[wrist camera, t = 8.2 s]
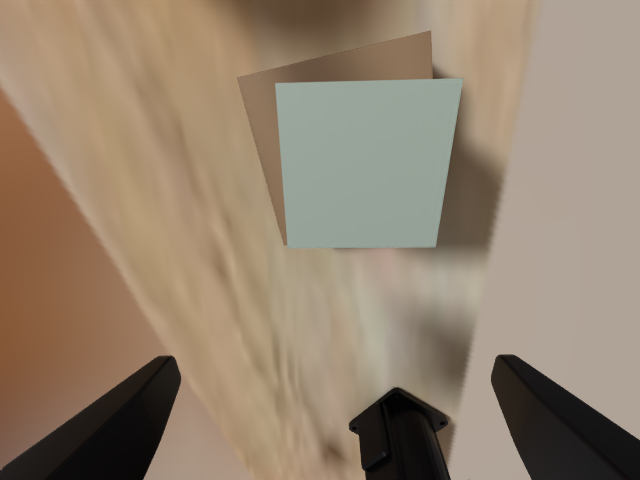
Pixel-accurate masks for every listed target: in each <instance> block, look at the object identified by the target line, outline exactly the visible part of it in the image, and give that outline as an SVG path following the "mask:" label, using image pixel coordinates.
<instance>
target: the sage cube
mask: <svg viewBox="0 0 640 480" xmlns="http://www.w3.org/2000/svg"><path fill="white" fill-rule="evenodd" d="M462 82H463V78H452V79H414V80H376V81H337V82H299V83H275V88H276V101H277V114H278V128H279V141H280V154H281V167H282V180H283V193H284V206H285V219H286V232H287V245H288V248H410V247H436V241H437V235H438V229H439V223H440V217H441V211H442V205H443V199H444V193H445V186H446V180H447V174H448V168H449V162H450V156H451V150H452V144H453V137H454V131H455V125H456V119H457V113H458V107H459V101H460V95H461V89H462Z"/></svg>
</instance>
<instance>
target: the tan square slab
mask: <svg viewBox="0 0 640 480" xmlns="http://www.w3.org/2000/svg"><path fill="white" fill-rule="evenodd" d="M414 79H433V71H432V44H431V31H427V32H423V33H419V34H415V35H411V36H406V37H402V38H398V39H394V40H390V41H386V42H382V43H378V44H373V45H369V46H365V47H361V48H357V49H353V50H349V51H345V52H340V53H336V54H332V55H328V56H324V57H320V58H316V59H312V60H307V61H303V62H299V63H295V64H291V65H287V66H283V67H279V68H274V69H270V70H266V71H262V72H258V73H254V74H250V75H246V76H241V77H237V80H238V84H239V87H240V91H241V94H242V98H243V101H244V105H245V108H246V112H247V115H248V119H249V123H250V126H251V130H252V133H253V137H254V140H255V144H256V147H257V151H258V155H259V158H260V162H261V165H262V169H263V172H264V176H265V179H266V183H267V186H268V190H269V194H270V197H271V201H272V204H273V208H274V211H275V215H276V218H277V222H278V226H279V229H280V233H281V236H282V240H283V243H284V245H287V232H286V219H285V206H284V193H283V180H282V167H281V154H280V141H279V128H278V114H277V101H276V88H275V83H299V82H337V81H376V80H414Z"/></svg>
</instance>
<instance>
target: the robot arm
mask: <svg viewBox="0 0 640 480" xmlns="http://www.w3.org/2000/svg"><path fill="white" fill-rule="evenodd" d="M180 383H181V375H180V372H179V369H178V365H177V362H176V359H175V358H174V357H173V356H158V357H156V358H155V359H153V360H152V361H150V362H149V363H148V364H146V365H145V366H143V367H142V368H141V369H139V370H138V371H137V372H135V373H134V374H132V375H131V376H129V377H128V378H127V379H126V380H124V381H123V382H121V383H120V384H118V385H117V386H116V387H114V388H113V389H111V390H110V391H109V392H107V393H106V394H104V395H103V396H102V397H100V398H99V399H97V400H96V401H95V402H93V403H92V404H90V405H89V406H88V407H87V408H85V409H83V410H82V411H81V412H79V413H78V414H77V415H75V416H74V417H72V418H71V419H70V420H68V421H67V422H65V423H64V424H63V425H61V426H60V427H58V428H57V429H56V430H54V431H53V432H51V433H50V434H49V435H47V436H46V437H44V438H43V439H42V440H40V441H39V442H37V443H36V444H35V445H33V446H32V447H30V448H29V449H28V450H26V451H25V452H23V453H22V454H21V455H19V456H18V457H16V458H15V459H14V460H13V461H11V462H9V463H8V464H7V465H5V466H4V467H3V468H2V470H0V480H143V479H144V476H145V475H146V472H147V470H148V468H149V466H150V463H151V461H152V459H153V457H154V455H155V452H156V450H157V448H158V446H159V443H160V441H161V438H162V435H163V433H164V430H165V427H166V424H167V421H168V419H169V416H170V413H171V410H172V407H173V404H174V401H175V398H176V395H177V393H178V390H179V386H180ZM491 383H492V386H493V389H494V392H495V394H496V397H497V399H498V402H499V405H500V407H501V410H502V413H503V415H504V418H505V420H506V423H507V426H508V428H509V431H510V433H511V436H512V438H513V441H514V443H515V446H516V448H517V450H518V452H519V455H520V457H521V459H522V461H523V463H524V465H525V467H526V469H527V471H528V473H529V475H530V477H531V479H532V480H640V440H639V439H637V438H635V437H634V436H633V435H631V434H630V433H628V432H627V431H625V430H624V429H622V428H621V427H620V426H618V425H617V424H615V423H613V422H612V421H611V420H609V419H608V418H606V417H605V416H604V415H602V414H601V413H599V412H598V411H596V410H595V409H593V408H592V407H590V406H589V405H587V404H586V403H584V402H583V401H582V400H580V399H579V398H577V397H576V396H574V395H573V394H571V393H570V392H568V391H567V390H565V389H564V388H563V387H561V386H560V385H558V384H557V383H555V382H554V381H552V380H551V379H549V378H548V377H547V376H545V375H544V374H542V373H541V372H539V371H538V370H536V369H535V368H533V367H532V366H530V365H529V364H527V363H526V362H524V361H523V360H521V359H520V358H519V357H517V356H515V355H498V356H497V357H496V359H495V363H494V367H493V371H492V374H491ZM447 425H448V421H447V418H446V417H445V416H444V415H442V414H441V413H439V412H437V411H436V410H434V409H432V408H430V407H429V406H427V405H425V404H424V403H422V402H420V401H419V400H417V399H415V398H414V397H412V396H410V395H408V394H407V393H405V392H403V391H402V390H400V389H398V388H395V389H392V390H390V391H389V392H388V393H386V394H385V395H384V396H383V397H381V398H380V399H379V400H377V401H376V402H375V403H374V404H372V405H371V406H370V407H368V408H367V409H366V410H365V411H363V412H362V413H361V414H359V415H358V416H357V417H356V418H354V419H353V420H352V421H351V422H350V423H349V430H350V431H352V432H354V433H356V434H358V435H359V441H360V453H361V465H362V469H363V470H364V471H365V476H366V480H451V479H450V475H449V472H448V469H447V466H446V463H445V460H444V457H443V453H442V450H441V447H440V444H439V441H438V438H437V435H436V432H438V431H439V430H441V429H442V428H444V427H445V426H447Z"/></svg>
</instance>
